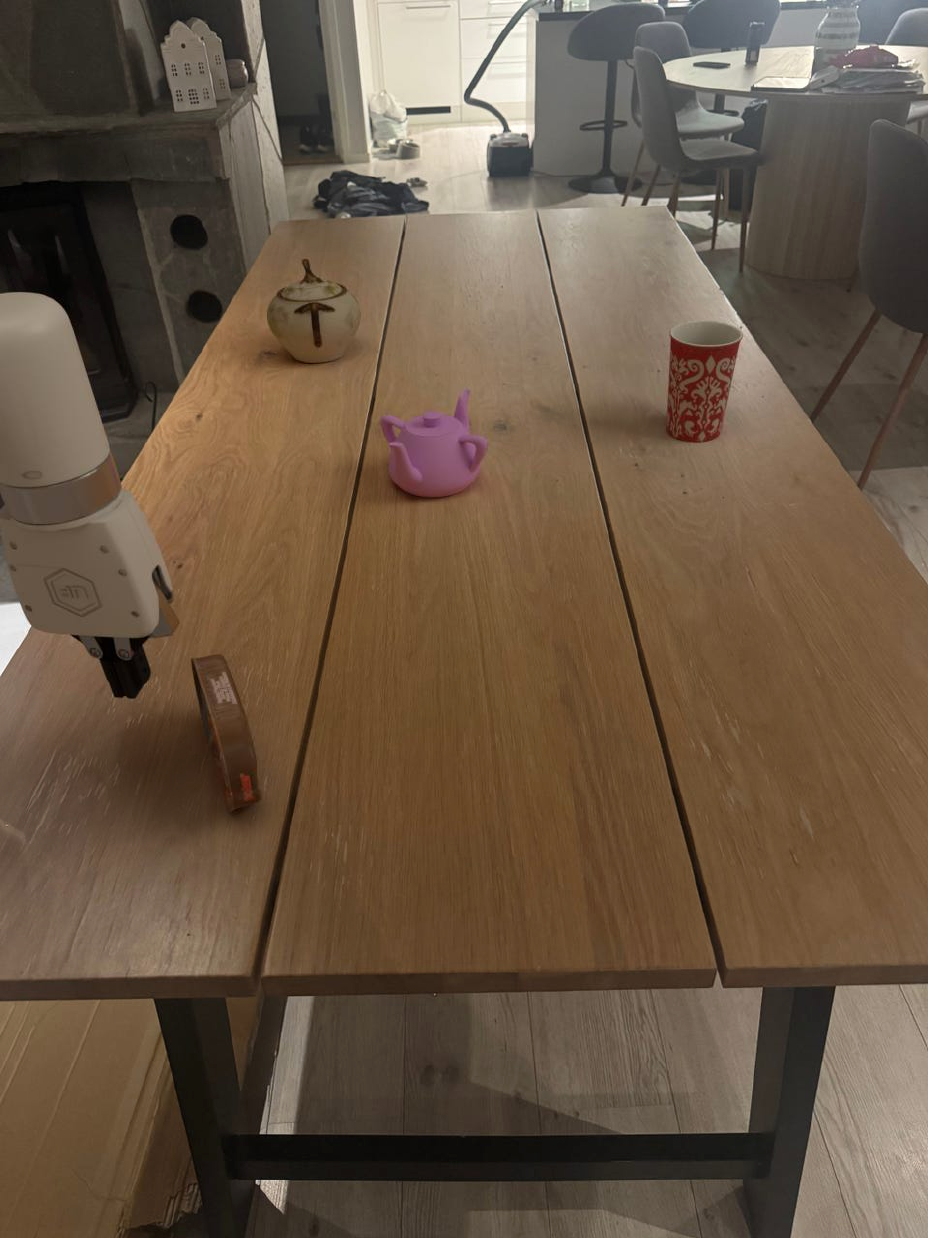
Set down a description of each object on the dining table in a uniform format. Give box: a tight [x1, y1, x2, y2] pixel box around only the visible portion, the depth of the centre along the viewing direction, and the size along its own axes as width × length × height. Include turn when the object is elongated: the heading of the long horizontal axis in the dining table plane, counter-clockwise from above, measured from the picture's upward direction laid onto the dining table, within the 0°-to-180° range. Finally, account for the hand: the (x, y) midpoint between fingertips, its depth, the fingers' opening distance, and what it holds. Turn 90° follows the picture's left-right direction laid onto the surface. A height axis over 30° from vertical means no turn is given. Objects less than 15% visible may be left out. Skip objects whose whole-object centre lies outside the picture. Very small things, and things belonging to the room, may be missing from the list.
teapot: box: [380, 389, 489, 498], centre depth 114 cm, size 12×14×9 cm
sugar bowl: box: [266, 258, 362, 364], centre depth 148 cm, size 20×15×15 cm
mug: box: [665, 320, 744, 443], centre depth 122 cm, size 13×9×14 cm
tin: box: [190, 653, 263, 812], centre depth 75 cm, size 15×3×8 cm, turn 23°
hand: (133, 686), depth 74 cm, fingers closed
